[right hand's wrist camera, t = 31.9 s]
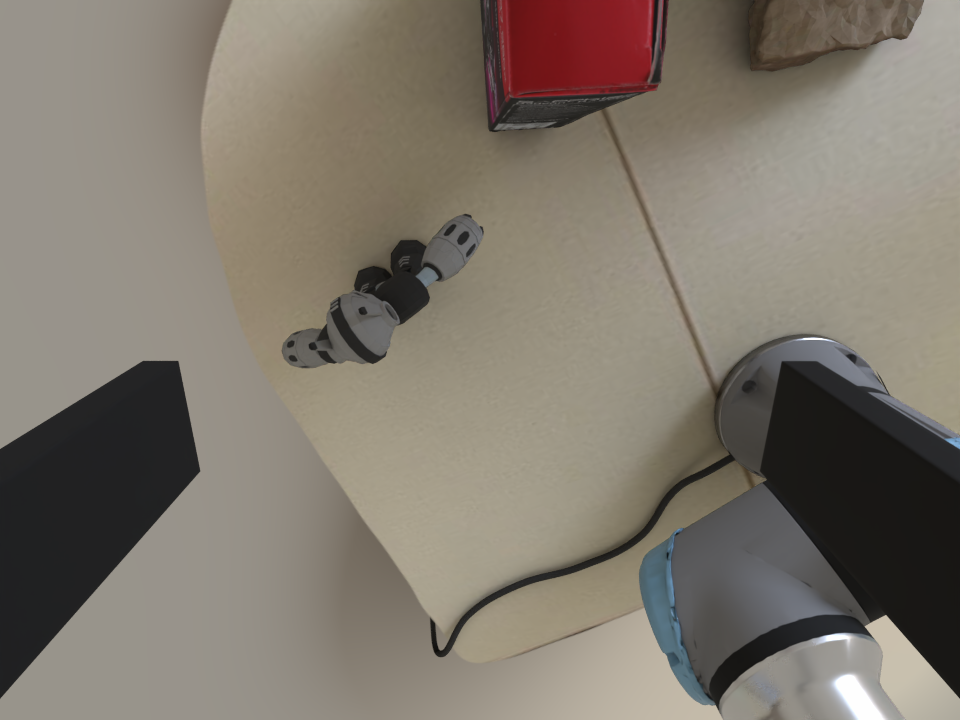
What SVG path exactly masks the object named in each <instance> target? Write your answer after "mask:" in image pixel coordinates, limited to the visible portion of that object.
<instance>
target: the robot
mask: <svg viewBox="0 0 960 720" xmlns="http://www.w3.org/2000/svg"><path fill="white" fill-rule="evenodd" d="M471 218H472V217H471V215H468V214H464V215H460V216H457V217H455V218H453V219H452V220H450V221H448V222H447V223H446V224H445V225H444V226H443V227H442V228H441V230H440V231H439V232H438V233H437V234H436V235H435V236H434V237H433V238H432V240H431V241H430V243H429V244H428V246H427V247H426V246H424V245H423V244H422V243H420V242H419V241H417V240H401V241H400V242H399V243H398V245H397V246H396V248H395V249H394V250H393V252H392V253H391V270H392V272H393V274H394V276H391V274H390V273H389V272H388V271H387V270H386V269H383V268H379V267H375V266H372V267H369V268H366V269H363V270H360V271H359V272H358V275H357V278H356V281H355V284H354V287H355V290H353V291H352V292H350V293H349V294H344V295H342V296H340V297H338V298H336V299H335V300H334V301H332V302H331V305H330V309H329V311H328V313H327V319H326V321H327V324H326V325H325V327H324V328H323V329H322V330H321V329H313V328H311V329H306V330H302V331H298V332H295V333H293V334H291V335H290V336H289V338H288V339H287V340H286V341H285V342H284V343H283V347H282V354H283V357H284V359H285V360H286V361H287V362H288V363H289V364H290V365H292V366H295V367H300V368H315V367H318V366H321V365H325V364H327V363H334V364H335V363H343V362H344V361H346V360H348V361H354V362H357V363H360V364H364V363H372V364H374V363H376V362H378V361H380V360H381V359H383V358H384V357H385V356H386V353H387V349H388V348H389V346H390V339H391V336H392V333H393V330H394V327H395V326H397V325H401V324H403V323H405V322H406V321H407V320H408V319H409V318H411V317H412V316H413V315H415V314H416V313H417V312H419V311H420V310H421V309H422V308H423V307H425V306H426V305H427V304H428V302H429V299H430V297H429V294H428V291H427V289H426V287H428V286H429V285H430V284H432V283H433V282H434V281H439V282H441V281H445V280H446V279H448V278H450V277H452V276H454V275H455V274H457V273H458V272H459V271H460V270H461V269H462V268H463V267H464V266H465V264H466V263H467V262H468V260H469V259H470V258H471V256H472V255H473V254H474V253H475V251H476V250H477V248H478V246H479V244H480V242H481V240H482V238H483V233H484V231H483V227H481V226H480V227H479V225H478V224H477V223H476V222H475V221H474V220H472V219H471Z"/></svg>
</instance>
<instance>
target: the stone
mask: <svg viewBox="0 0 960 720" xmlns="http://www.w3.org/2000/svg"><path fill="white" fill-rule="evenodd" d="M923 2H924V0H755V2H754V4H753V5H752V7H751V8H750V10H749V17H748V22H749V25H750V28H751V29H750V32H749V41H750V58H751V65H750V68H751V70H752V71H753V70H767V71H775V70H780V69H784V68H787V67H792V66H799V65H804V64H806V63H810V62H811V61H813V60H815V59H816V58H818V57H819V56H822V55H825V54H827V53H829V52H833V51H837V50H850V49H853V50H858V49H866V48H867V47H868V46H869V45H872V44H876V43H878V42H880V41H882V40H887V39H890V38H892V37H893V38H896V39H899V40H902V39H905V38H907V37H908V36H909V34H910V32H911V30H912V28H913V26H914V23H915V21H916V20H917V18H918V17H919V15H920V14H921V9H922V5H923Z"/></svg>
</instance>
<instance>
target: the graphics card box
mask: <svg viewBox="0 0 960 720" xmlns="http://www.w3.org/2000/svg"><path fill="white" fill-rule="evenodd" d="M668 1H669V0H481V18H482V33H483V48H484V66H485V84H486V98H487V111H488V129H489V131H492V132H497V131H505V130H523V129H536V128H552V127H554V128H555V127H561V126H564V125H566V124H569V123H572V122H574V121H576V120H578V119H580V118H582V117H584V116H586V115H588V114H591V113H593V112H596V111H599V110H601V109H604V108H605V107H609V106H611V105H614V104H616V103H619V102H621V101H624V100H627V99H629V98H632V97H634V96H636V95H639V94H642V93H645V92H648V91H654V90H657V87H658V84H659V83H661V80H662V66H663V58H664V51H665V44H666V30H667V16H668Z"/></svg>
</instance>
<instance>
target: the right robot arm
mask: <svg viewBox="0 0 960 720" xmlns="http://www.w3.org/2000/svg"><path fill="white" fill-rule="evenodd" d="M876 372H877V371H876ZM877 374H878V373H877ZM878 376H879V374H878ZM879 377H880V376H879ZM880 379H881V377H880ZM881 381H882V379H881ZM882 383H883V381H882ZM883 385H884V383H883ZM883 385H882V384H881V382H880V381H879V379H878V378H877V376H876V375H875V373H874V372H873V370H872V369H871V367H870V366H869V365H868V363H867V362H866V361H865V360H864V359H863V358H862V357H860V356H859V355H858V354H857V353H856V352H855V351H853V350H852V349H850V348H849V347H847V346H845V345H843V344H841V343H839V342H837V341H835V340H833V339H830V338H827V337H823V336H818V335H809V334H802V335H792V336H787V337H782V338H779V339H776V340H773V341H771V342H768V343H766V344H764V345H762V346H760V347H758V348H757V349H755V350H754V351H752V352H751V353H749V354H748V355H747V356H745V357H744V358H743V359H742V360H741V361H740V362H739V363H738V364H737V365H736V366H735V367H734V368H733V369H732V371H731V372H730V373H729V375H728V376H727V378H726V379H725V381H724V383H723V384H722V386H721V389H720V391H719V394H718V397H717V400H716V405H715V426H716V431H717V434H718V436H719V439H720V441H721V443H722V444H723V446H724V447H725V448H726V450H727V451H728V452H729V453H730V455H728V456H727V457H725V458H723V459H721V460H720V461H718V462H716V463H714V464H713V465H711V466H709V467H707V468H705V469H704V470H702V471H700V472H697V473H695V474H693V475H691V476H689V477H687V478H685V479H683V480H681V481H680V482H679V483H677V484H676V485H675V486H674V487H673V488H672V489H671V490H670V491H669V492H668V493H667V494H666V496H665V497H664V498H663V500H662V501H661V503H660V504H659V506H658V508H657V509H656V511H655V513H654V515H653V516H652V518H651V519H650V521H649V522H648V524H647V525H646V526H645V528H644V529H643V530H642V531H641V532H640V533H638V534H637V535H636V536H635V537H634V538H632V539H631V540H629V541H628V542H627V543H625V544H623V545H622V546H620V547H618V548H616V549H614V550H612V551H610V552H608V553H605V554H603V555H601V556H598V557H595V558H593V559H590V560H587V561H585V562H582V563H580V564H577V565H574V566H571V567H568V568H565V569H561V570H557V571H553V572H548V573H544V574H540V575H536V576H532V577H529V578H526V579H523V580H521V581H518V582H516V583H514V584H511V585H509V586H507V587H505V588H503V589H501V590H499V591H497V592H495V593H493V594H491V595H490V596H488V597H486V598H485V599H483V600H482V601H480V602H479V603H478V604H476V605H475V606H474V607H473V608H471V609H470V610H469V611H468V612H467V613H466V614H465V615H464V616H463V617H462V618H461V619H460V621H459V622H458V624H457V625H456V627H455V629H454V631H453V633H452V635H451V637H450V639H449V641H448V643H447V645H446V647H445V648H444V649H443V650H442V651H440V650H439V648H438V644H437V637H436V625H435V622H434V621H433V619H432V618H431V617H430V628H431V641H432V647H433V651H434V653H435V654H436V655H437V656H438V657H444V656H446V655H447V654H448V653H449V651H450V650H451V648H452V647H453V645H454V643H455V640H456V638H457V636H458V634H459V632H460V631H461V629H462V627H463V626H464V624H465V623H466V621H467V620H468V619H469V618H470V617H471V616H472V615H474V614H475V613H476V612H477V611H478V610H480V609H481V608H482V607H484V606H485V605H487V604H488V603H490V602H492V601H493V600H495V599H497V598H499V597H501V596H503V595H505V594H507V593H509V592H512V591H514V590H516V589H518V588H521V587H523V586H526V585H529V584H532V583H535V582H539V581H543V580H547V579H552V578H556V577H560V576H564V575H568V574H571V573H574V572H577V571H580V570H582V569H585V568H588V567H590V566H593V565H596V564H598V563H601V562H603V561H606V560H608V559H611V558H613V557H615V556H617V555H619V554H621V553H623V552H625V551H626V550H628V549H630V548H631V547H633V546H634V545H635V544H637V543H638V542H639V541H641V540H642V539H643V538H644V537H645V536H646V535H647V534H648V533H649V532H650V531H651V529H652V528H653V527H654V525H655V524H656V522H657V521H658V519H659V518H660V516H661V514H662V512H663V511H664V509H665V507H666V506H667V504H668V503H669V501H670V500H671V499H672V498H673V497H674V496H675V494H676V493H678V492H679V491H680V490H681V489H682V488H684V487H685V486H687V485H688V484H690V483H692V482H694V481H697V480H699V479H701V478H703V477H705V476H707V475H709V474H711V473H713V472H715V471H716V470H718V469H720V468H722V467H724V466H725V465H727V464H729V463H731V462H732V461H734V460H736V461H737V462H738V463H739V464H741V465H742V466H743V467H745V468H746V469H747V470H749V471H751V472H752V473H754V474H756V475H759V476H761V477H763V478H766V479H767V480H766V481H764V482H762V483H760V484H758V485H757V486H755V487H753V488H752V489H750V490H748V491H747V492H745V493H743V494H742V495H740V496H738V497H737V498H735V499H733V500H732V501H730V502H728V503H727V504H725V505H723V506H722V507H720V508H718V509H717V510H715V511H713V512H712V513H710V514H708V515H707V516H705V517H703V518H702V519H700V520H698V521H697V522H695V523H693V524H692V525H690V526H688V527H687V528H685V529H684V528H680V529H678V530H676V531H675V532H674V533H673V534H672V535H671V537H670V538H669V539H667V540H666V541H664V542H663V543H661V544H659V545H658V546H656V547H655V548H653V549H652V550H651V551H649V552H648V553H647V554H646V555H645V557H644V558H643V561H642V565H641V566H640V571H639V583H640V590H641V595H642V600H643V603H644V607H645V610H646V613H647V616H648V619H649V622H650V625H651V627H652V630H653V633H654V635H655V637H656V640H657V642H658V644H659V646H660V648H661V650H662V652H663V653H665V654H666V655H667V658H668V661H669V664H670V667H671V669H672V671H673V673H674V675H675V676H676V678H677V679H678V681H679V683H680V684H681V685H682V687H683V688H684V689H685V691H686V692H687V693H688V694H689V695H690V696H691V697H692V698H693V699H694V700H695V701H697V702H699V703H700V704H702V705H716V706H717V708H718V710H719V712H720V714H721V716H722V718H723V720H906V719H905V718H904V717H903V715H902V714H901V713H900V711H899V710H898V709H897V707H896V706H895V705H894V703H893V702H892V701H891V699H890V698H889V697H888V695H887V694H886V693H885V691H884V690H883V689H882V687H881V684H880V674H881V666H882V658H883V654H882V650H881V647H880V646H879V644H878V643H877V642H876V641H875V639H874V638H873V637H872V635H871V634H870V633H869V632H868V630H867V629H866V628H865V627H864V626H866V625H868V624H869V623H871V622H873V621H875V620H877V619H879V618H881V617H882V616H884V615H887V616H888V617H889V619H890V620H891V621H892V622H893V623H894V624H895V625H896V627H897V628H898V629H899V630H900V631H901V632H902V633H903V635H904V636H905V637H906V638H907V639H908V640H909V641H910V642H911V644H912V645H913V646H914V647H915V648H916V649H917V650H918V652H919V653H920V654H921V655H922V656H923V657H924V658H925V660H926V661H927V662H928V663H929V664H930V665H931V666H932V667H933V669H934V670H935V671H936V672H937V673H938V674H939V675H940V677H941V678H942V679H943V680H944V681H945V682H946V683H947V685H948V686H949V687H950V688H951V689H952V690H953V691H954V692H955V694H956V695H957V696H958V697H959V698H960V435H958V434H956V433H955V432H953V431H951V430H949V429H948V428H946V427H944V426H942V425H941V424H939V423H937V422H935V421H934V420H932V419H930V418H928V417H927V416H925V415H923V414H922V413H920V412H918V411H916V410H915V409H913V408H911V407H909V406H908V405H906V404H904V403H902V402H901V401H899V400H897V399H895V398H894V397H892V396H890V395H889V393H888V391H887V389H886V387H885V385H884V387H885V388H884V387H883ZM885 389H886V390H885ZM199 472H200V467H199V462H198V457H197V452H196V447H195V442H194V437H193V432H192V427H191V422H190V417H189V412H188V407H187V402H186V397H185V392H184V387H183V382H182V377H181V372H180V367H179V362H178V361H142V362H141V363H139V364H137V365H136V366H134V367H133V368H131V369H129V370H128V371H126V372H125V373H123V374H121V375H120V376H118V377H116V378H115V379H113V380H111V381H110V382H108V383H107V384H105V385H103V386H102V387H100V388H99V389H97V390H95V391H94V392H92V393H90V394H89V395H87V396H86V397H84V398H82V399H81V400H79V401H77V402H76V403H74V404H73V405H71V406H69V407H68V408H66V409H64V410H63V411H61V412H60V413H58V414H56V415H55V416H53V417H51V418H50V419H48V420H47V421H45V422H43V423H42V424H40V425H38V426H37V427H35V428H34V429H32V430H30V431H29V432H27V433H26V434H24V435H22V436H21V437H19V438H17V439H16V440H14V441H13V442H11V443H9V444H8V445H6V446H4V447H3V448H1V449H0V698H1V697H2V696H3V695H4V694H5V692H6V691H7V690H8V689H9V688H10V687H11V686H12V685H13V683H14V682H15V681H16V680H17V679H18V678H19V676H20V675H21V674H22V673H23V672H24V671H25V670H26V669H27V667H28V666H29V665H30V664H31V663H32V662H33V661H34V659H35V658H36V657H37V656H38V655H39V654H40V653H41V652H42V650H43V649H44V648H45V647H46V646H47V645H48V644H49V642H50V641H51V640H52V639H53V638H54V637H55V636H56V635H57V633H58V632H59V631H60V630H61V629H62V628H63V627H64V625H65V624H66V623H67V622H68V621H69V620H70V619H71V617H72V616H73V615H74V614H75V613H76V612H77V611H78V610H79V608H80V607H81V606H82V605H83V604H84V603H85V602H86V600H87V599H88V598H89V597H90V596H91V595H92V594H93V592H94V591H95V590H96V589H97V588H98V587H99V586H100V585H101V583H102V582H103V581H104V580H105V579H106V578H107V577H108V575H109V574H110V573H111V572H112V571H113V570H114V569H115V567H116V566H117V565H118V564H119V563H120V562H121V561H122V559H123V558H124V557H125V556H126V555H127V554H128V553H129V552H130V550H131V549H132V548H133V547H134V546H135V545H136V544H137V542H138V541H139V540H140V539H141V538H142V537H143V536H144V535H145V533H146V532H147V531H148V530H149V529H150V528H151V527H152V525H153V524H154V523H155V522H156V521H157V520H158V519H159V517H160V516H161V515H162V514H163V513H164V512H165V511H166V510H167V508H168V507H169V506H170V505H171V504H172V503H173V502H174V500H175V499H176V498H177V497H178V496H179V495H180V494H181V492H182V491H183V490H184V489H185V488H186V487H187V486H188V485H189V483H190V482H191V481H192V480H193V479H194V478H195V477H196V475H197V474H198V473H199Z"/></svg>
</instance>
